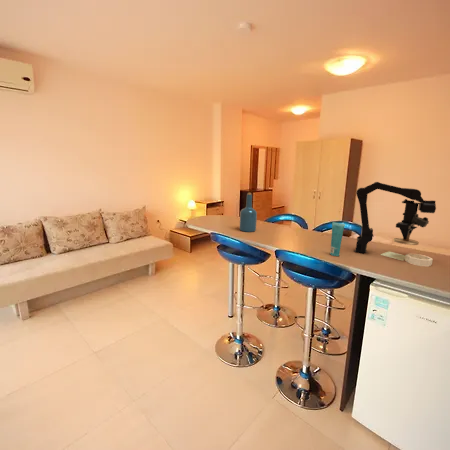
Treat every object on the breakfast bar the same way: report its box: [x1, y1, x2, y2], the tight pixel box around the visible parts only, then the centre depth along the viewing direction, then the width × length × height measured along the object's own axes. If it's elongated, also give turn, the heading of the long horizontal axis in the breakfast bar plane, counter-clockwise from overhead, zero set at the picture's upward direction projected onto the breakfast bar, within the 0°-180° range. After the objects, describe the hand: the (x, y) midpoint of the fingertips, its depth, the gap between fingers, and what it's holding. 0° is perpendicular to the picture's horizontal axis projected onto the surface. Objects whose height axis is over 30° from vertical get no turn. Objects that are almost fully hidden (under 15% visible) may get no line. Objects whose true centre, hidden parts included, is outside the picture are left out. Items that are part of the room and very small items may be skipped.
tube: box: [329, 221, 346, 257], centre depth 152 cm, size 7×5×19 cm, turn 47°
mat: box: [380, 251, 406, 262], centre depth 154 cm, size 12×12×1 cm
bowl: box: [404, 252, 434, 268], centre depth 143 cm, size 11×11×4 cm
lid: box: [393, 233, 420, 246], centre depth 148 cm, size 12×12×5 cm
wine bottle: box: [239, 192, 258, 233], centre depth 205 cm, size 14×13×30 cm
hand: (406, 238), depth 148 cm, fingers closed on lid, 3 cm apart
